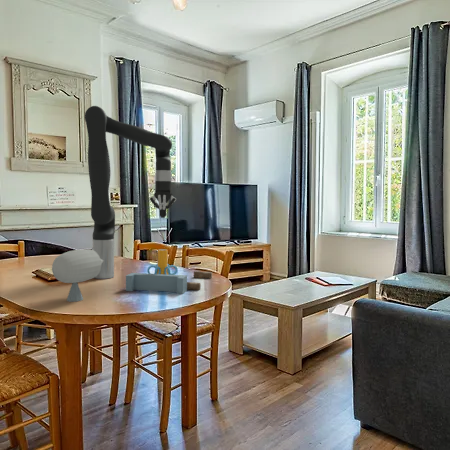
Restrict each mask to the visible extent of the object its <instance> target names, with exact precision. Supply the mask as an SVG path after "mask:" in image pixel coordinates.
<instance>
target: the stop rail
mask: <svg viewBox="0 0 450 450" xmlns="http://www.w3.org/2000/svg"><path fill="white" fill-rule="evenodd" d="M187 282H188V275H184V274H183V275H182V274H175V275H167V274H154V273H151V274H148V273H147V272H146V273H140V272H131V273H129V274H126V275H125V292H133V291H135V290H137V291H152V292H153V291H155V292H157V291H158V292H174V293H175V292H176V295H177V294H178V295H184V294H185V293H186V292H187V291H188V290H187Z"/></svg>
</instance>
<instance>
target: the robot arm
mask: <svg viewBox="0 0 450 450" xmlns="http://www.w3.org/2000/svg"><path fill="white" fill-rule="evenodd" d="M84 121H85V123H86V124H85V125H86V129H87V137H88V143H87V144H88V147H87V166H88V168H87V169H88V176H89V178H88V179H89V184H90V190H91V191H90V192H91V199H90V200H91V205H90V217H91V219H92V221H93V223H94V224H93V232H92V250H94V251H95V252H96V253H97V254H98V255H99V257H100V258H101V259H102V260H103V262H102V264H101V270H100V273H99V274H98V275H97V276H96V277H94V278H93V279H99V280H100V279H101V280H102V279H111V278H114V277H115V230H116V213H115V209H114V207H113V206H112V205H111V204H110V194H109V190H110V182H111V160H110V153H109V148H108V147H109V146H108V143H107V135H106V133H107V134H108V133H109V134H112V135H115V136H118V137H121V138H124V139H126V140H129V141H131V142H134V143H136V144H139V145H141V146H145V147H150V148H153V149H154V152H155V175H154V178H155V179H154V194H153V196H151V197H149V201H150V202H151V203H152V204H153V207H155V208H156V209H158V210H159V217H160V219H165V218H166V217H167V210H168V209H171V208H172V207H173V205H174V204H175V202H176V201H177V198H176V197H174V196H173V192H172V161H171V149H172V148H173V143H172V140H171V139H170V138H169V137H168V136H165V135H163V134H159V133H156V132H152V131H150V130H147V129H145V128H142V127H139V126H137V125H134V124H129V123H125V122H121V121H119V120H116V119H114V118H112V117H109V115H107V114H106V112H105V110H104V109H103V108H101V107H100V106H97V105H92V106H90V107H88V108H87V109H86V110H85V112H84ZM168 202H169V203H168Z"/></svg>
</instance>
